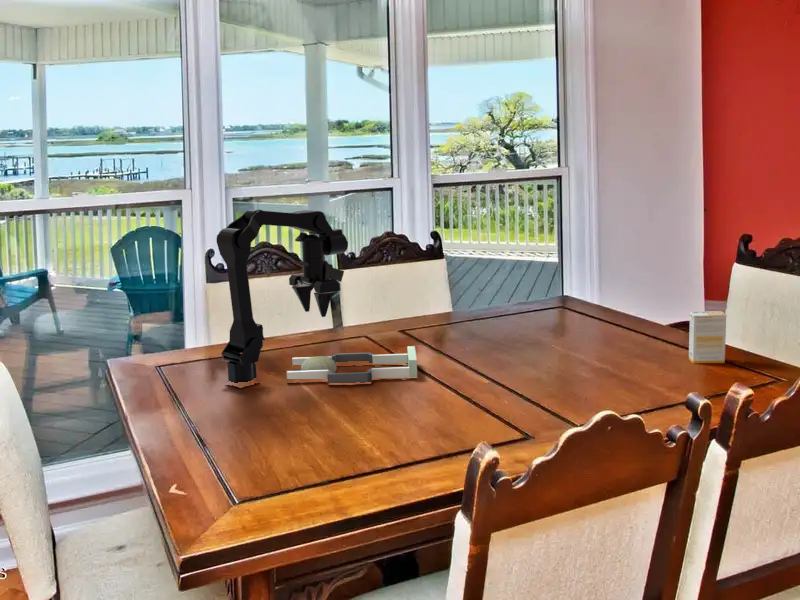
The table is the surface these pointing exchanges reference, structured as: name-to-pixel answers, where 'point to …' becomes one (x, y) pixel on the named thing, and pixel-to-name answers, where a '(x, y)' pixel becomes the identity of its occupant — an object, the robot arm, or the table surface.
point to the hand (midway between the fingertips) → (315, 314)
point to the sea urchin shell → (319, 364)
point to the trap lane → (356, 376)
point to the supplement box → (707, 337)
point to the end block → (412, 361)
